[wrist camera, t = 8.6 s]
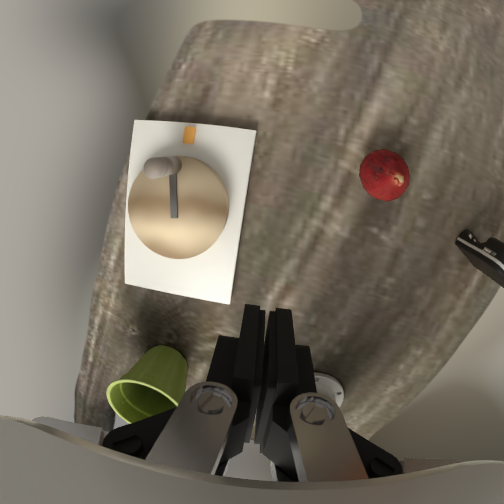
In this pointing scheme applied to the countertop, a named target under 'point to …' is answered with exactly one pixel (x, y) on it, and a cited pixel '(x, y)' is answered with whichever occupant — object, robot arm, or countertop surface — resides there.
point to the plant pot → (150, 385)
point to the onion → (384, 175)
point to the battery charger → (484, 255)
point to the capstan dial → (178, 206)
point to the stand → (236, 183)
